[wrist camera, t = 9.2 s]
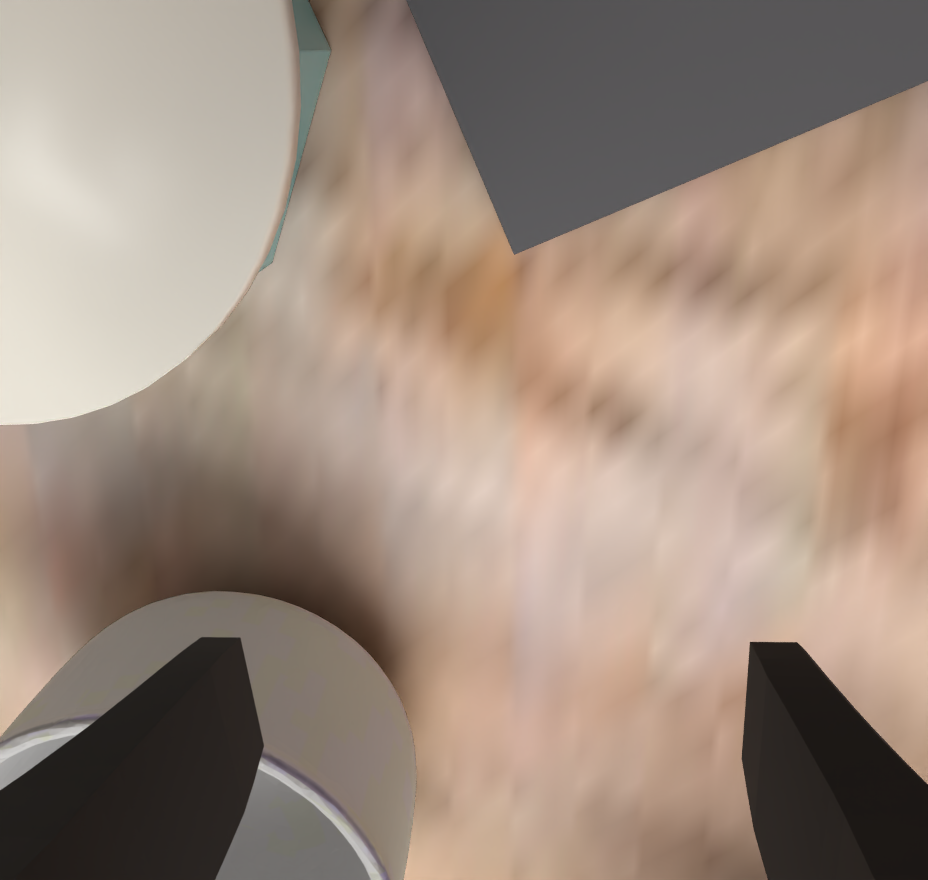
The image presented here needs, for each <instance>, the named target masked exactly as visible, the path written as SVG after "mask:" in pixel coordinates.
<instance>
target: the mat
mask: <svg viewBox="0 0 928 880" xmlns="http://www.w3.org/2000/svg"><path fill="white" fill-rule="evenodd" d="M407 3H408V5H409V8H410V10H411V12H412V15H413V17H414V19H415V22H416V24H417V26H418V29H419V31H420V33H421V36H422V38H423V41H424V43H425V45H426V48H427V50H428V52H429V55H430V57H431V59H432V62H433V64H434V67H435V69H436V71H437V74H438V76H439V78H440V81H441V83H442V85H443V88H444V90H445V93H446V95H447V97H448V100H449V102H450V104H451V107H452V109H453V111H454V114H455V116H456V119H457V121H458V123H459V126H460V128H461V130H462V133H463V135H464V137H465V140H466V142H467V145H468V147H469V149H470V152H471V154H472V156H473V159H474V161H475V163H476V166H477V168H478V170H479V173H480V175H481V178H482V180H483V182H484V185H485V187H486V189H487V192H488V194H489V196H490V199H491V201H492V204H493V206H494V208H495V211H496V213H497V215H498V218H499V220H500V222H501V225H502V227H503V230H504V232H505V234H506V237H507V239H508V241H509V244H510V246H511V248H512V251H513V253H514V255H515V254H517V253H519V252H522V251H524V250H526V249H529V248H531V247H534V246H536V245H538V244H541V243H543V242H546V241H548V240H550V239H553V238H555V237H557V236H560V235H562V234H565V233H567V232H569V231H572V230H574V229H576V228H579V227H581V226H584V225H586V224H588V223H591V222H593V221H596V220H598V219H600V218H603V217H605V216H607V215H610V214H612V213H615V212H617V211H619V210H622V209H624V208H626V207H629V206H631V205H634V204H636V203H638V202H641V201H643V200H646V199H648V198H650V197H653V196H655V195H657V194H660V193H662V192H665V191H667V190H669V189H672V188H674V187H676V186H679V185H681V184H684V183H686V182H688V181H691V180H693V179H696V178H698V177H700V176H703V175H705V174H707V173H710V172H712V171H715V170H717V169H719V168H722V167H724V166H726V165H729V164H731V163H734V162H736V161H738V160H741V159H743V158H746V157H748V156H750V155H753V154H755V153H757V152H760V151H762V150H765V149H767V148H769V147H772V146H774V145H776V144H779V143H781V142H784V141H786V140H788V139H791V138H793V137H796V136H798V135H800V134H803V133H805V132H807V131H810V130H812V129H815V128H817V127H819V126H822V125H824V124H826V123H829V122H831V121H834V120H836V119H838V118H841V117H843V116H846V115H848V114H850V113H853V112H855V111H857V110H860V109H862V108H865V107H867V106H869V105H872V104H874V103H876V102H879V101H881V100H884V99H886V98H888V97H891V96H893V95H896V94H898V93H900V92H903V91H905V90H907V89H910V88H912V87H915V86H917V85H919V84H922V83H924V82H926V81H928V0H407Z"/></svg>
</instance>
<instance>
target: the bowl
mask: <svg viewBox="0 0 928 880" xmlns="http://www.w3.org/2000/svg"><path fill="white" fill-rule="evenodd" d="M292 5H293V12H294V19H295V26H296V32H297V39H298V46H299V62H300V95H301V111H300V122H299V133H298V144H297V155H296V162H295V167H294V171H293V176H292V180H291V185H290V189H289V194H288V198H287V203H286V208H285V210H284V213H283V216H282V219H281V221H280V224H279V227H278V229H277V232H276V235H275V238H274V240H273V243H272V246H271V249H270V251H269V253H268V255H267V257H266V259H265V261H264V263H263V264H262V266H261V268H260V270H259V272H260V271H261V270H263V269H264V268H265V267H267V266H268V265H270V264H271V263H272V262H273V258H274V255H275V251H276V247H277V244H278V240H279V237H280V233H281V229H282V226H283V222H284V219H285V215H286V211H287V208H288V204H289V200H290V197H291V193H292V190H293V186H294V182H295V179H296V175H297V172H298V168H299V164H300V161H301V157H302V154H303V150H304V146H305V143H306V139H307V136H308V132H309V128H310V125H311V121H312V118H313V114H314V110H315V107H316V103H317V100H318V96H319V92H320V89H321V85H322V82H323V78H324V74H325V71H326V67H327V63H328V60H329V56H330V53H331V49H330V47H329V45H328V42H327V40H326V38H325V36H324V34H323V31H322V29H321V27H320V25H319V23H318V21H317V18H316V16H315V14H314V12H313V10H312V8H311V5H310V3H309V1H308V0H292Z"/></svg>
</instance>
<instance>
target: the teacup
mask: <svg viewBox="0 0 928 880" xmlns="http://www.w3.org/2000/svg"><path fill="white" fill-rule="evenodd" d="M201 637H240V638H241V642H242V647H243V651H244V656H245V660H246V665H247V669H248V674H249V679H250V683H251V688H252V692H253V697H254V701H255V706H256V711H257V715H258V720H259V724H260V729H261V733H262V738H263V742H264V748H263V752H262V755H261V759H260V762H259V766H258V769H257V773H256V777H255V780H254V784H253V787H252V790H251V793H250V796H249V800H248V803H247V806H246V809H245V812H244V815H243V817H242V819H241V822H240V824H239V827H238V829H237V831H236V833H235V836H234V838H233V840H232V843H231V845H230V847H229V850H228V852H227V854H226V856H225V859H224V861H223V863H222V866H221V868H220V870H219V872H218V875H217V877H216V879H215V880H404V874H405V869H406V863H407V858H408V851H409V844H410V837H411V831H412V824H413V815H414V805H415V796H416V757H415V747H414V741H413V736H412V731H411V728H410V725H409V722H408V718H407V715H406V712H405V709H404V707H403V705H402V702H401V700H400V698H399V696H398V694H397V692H396V690H395V688H394V687H393V685H392V683H391V682H390V680H389V679H388V677H387V676H386V675H385V673H384V672H383V671H382V669H381V668H380V666H379V665H378V664H377V663H376V661H375V660H374V659H373V658H372V657H371V656H370V655H369V653H368V652H367V651H366V650H365V649H364V648H362V647H361V646H360V645H359V644H358V643H357V642H356V641H355V640H354V639H352V638H351V637H350V636H348V635H347V634H346V633H344V632H343V631H342V630H340V629H339V628H338V627H336V626H335V625H333V624H331V623H330V622H328V621H326V620H325V619H323V618H321V617H319V616H318V615H316V614H314V613H312V612H309V611H307V610H305V609H303V608H301V607H298V606H295V605H293V604H290V603H287V602H284V601H282V600H278V599H274V598H270V597H266V596H262V595H257V594H249V593H241V592H225V591H209V592H198V593H189V594H183V595H179V596H175V597H171V598H167V599H164V600H160V601H157V602H154V603H151V604H148V605H146V606H144V607H142V608H139V609H137V610H135V611H133V612H131V613H129V614H127V615H125V616H123V617H122V618H120V619H119V620H117V621H115V622H114V623H112V624H111V625H109V626H108V627H106V628H105V629H104V630H102V631H101V632H100V633H99V634H97V635H96V636H95V637H94V638H92V639H91V640H90V641H89V642H88V643H87V644H86V645H84V646H83V647H82V648H81V649H80V650H79V651H78V652H77V653H76V654H75V655H74V656H73V657H72V658H71V659H70V660H69V661H68V662H67V663H66V664H65V665H64V666H63V667H62V668H61V669H60V670H59V671H58V672H57V673H56V674H55V675H54V677H53V678H52V679H51V680H50V681H49V682H48V683H47V684H46V685H45V687H44V688H43V689H42V690H41V691H40V692H39V693H38V694H37V695H36V697H35V698H34V699H33V700H32V701H31V702H30V703H29V704H28V705H27V707H26V708H25V709H24V710H23V711H22V712H21V713H20V714H19V716H18V717H17V718H16V719H15V720H14V722H13V723H12V724H11V725H10V726H9V728H8V729H7V730H6V731H5V732H4V733H3V735H2V736H1V737H0V790H1V789H3V788H4V787H6V786H7V785H9V784H10V783H11V782H13V781H14V780H16V779H17V778H19V777H20V776H22V775H23V774H24V773H26V772H27V771H29V770H30V769H31V768H33V767H34V766H35V765H37V764H38V763H39V762H41V761H42V760H43V759H45V758H46V757H48V756H49V755H50V754H52V753H53V752H54V751H56V750H57V749H58V748H60V747H61V746H63V745H64V744H65V743H67V742H68V741H69V740H71V739H72V738H73V737H75V736H76V735H77V734H79V733H80V732H82V731H83V730H84V729H86V728H87V727H88V726H89V725H91V724H92V723H93V722H95V721H96V720H97V719H98V718H100V717H101V716H102V715H103V714H105V713H106V712H107V711H108V710H110V709H111V708H112V707H113V706H115V705H116V704H117V703H118V702H120V701H121V700H122V699H123V698H125V697H126V696H127V695H128V694H130V693H131V692H132V691H133V690H135V689H136V688H137V687H138V686H140V685H141V684H142V683H143V682H145V681H146V680H147V679H148V678H149V677H151V676H152V675H153V674H154V673H156V672H157V671H158V670H159V669H161V668H162V667H163V666H164V665H165V664H167V663H168V662H169V661H170V660H172V659H173V658H174V657H175V656H177V655H178V654H179V653H180V652H182V651H183V650H184V649H186V648H187V647H188V646H190V645H191V644H192V643H194V642H195V641H196V640H198V639H199V638H201Z"/></svg>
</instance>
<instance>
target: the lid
mask: <svg viewBox="0 0 928 880" xmlns="http://www.w3.org/2000/svg"><path fill="white" fill-rule="evenodd" d="M300 111H301V95H300V62H299V46H298V39H297V32H296V26H295V19H294V12H293V5H292V0H0V425H18V424H38V423H44V422H50V421H56V420H62V419H68V418H74V417H77V416H80V415H83V414H86V413H89V412H92V411H95V410H99V409H102V408H105V407H108V406H111V405H113V404H115V403H117V402H119V401H121V400H123V399H125V398H127V397H129V396H131V395H133V394H135V393H137V392H139V391H141V390H143V389H145V388H147V387H148V386H150V385H151V384H152V383H154V382H155V381H157V380H158V379H159V378H161V377H162V376H164V375H165V374H166V373H168V372H169V371H171V370H172V369H173V368H175V367H176V366H178V365H179V364H180V363H181V362H183V361H184V360H185V359H187V358H188V357H189V356H190V355H192V354H193V353H194V352H195V351H196V350H197V349H198V348H199V347H200V346H201V345H202V344H203V343H204V342H206V341H207V340H208V339H209V338H210V337H211V336H212V335H213V334H214V333H215V332H216V331H217V330H218V329H219V328H220V327H221V326H222V325H223V324H224V323H225V321H226V320H227V319H228V317H229V316H230V315H231V313H232V312H233V311H234V309H235V308H236V306H237V305H238V304H239V302H240V301H241V300H242V298H243V297H244V296H245V294H246V293H247V292H248V290H249V289H250V287H251V285H252V283H253V281H254V279H255V277H256V276H257V274H258V272H259V270H260V268H261V266H262V264H263V263H264V261H265V259H266V257H267V255H268V253H269V251H270V249H271V246H272V243H273V240H274V238H275V235H276V232H277V229H278V227H279V224H280V221H281V219H282V216H283V213H284V210H285V208H286V203H287V198H288V194H289V189H290V185H291V180H292V176H293V171H294V167H295V162H296V155H297V144H298V133H299V122H300Z"/></svg>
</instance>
